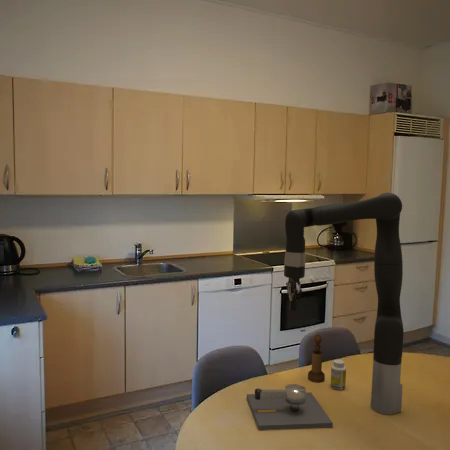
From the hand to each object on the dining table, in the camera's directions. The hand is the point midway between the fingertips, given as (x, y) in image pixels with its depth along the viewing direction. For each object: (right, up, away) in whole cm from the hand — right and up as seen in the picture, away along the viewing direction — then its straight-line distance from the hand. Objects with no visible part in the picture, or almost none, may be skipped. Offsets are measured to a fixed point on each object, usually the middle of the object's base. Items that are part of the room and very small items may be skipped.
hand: (292, 310), depth 167 cm
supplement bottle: (+19, -31, +8) cm, 37 cm away
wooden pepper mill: (+12, -31, +15) cm, 36 cm away
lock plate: (-4, -32, -13) cm, 35 cm away
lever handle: (-7, -30, -15) cm, 35 cm away
